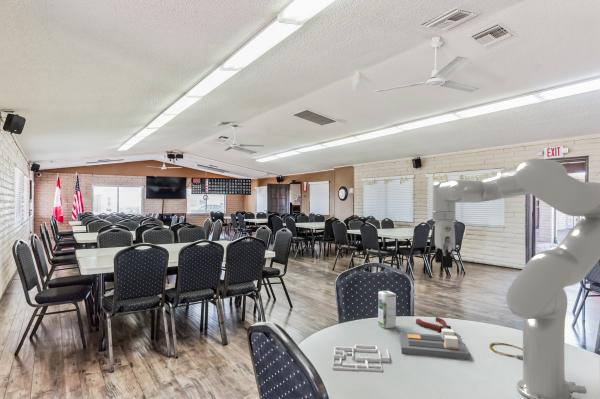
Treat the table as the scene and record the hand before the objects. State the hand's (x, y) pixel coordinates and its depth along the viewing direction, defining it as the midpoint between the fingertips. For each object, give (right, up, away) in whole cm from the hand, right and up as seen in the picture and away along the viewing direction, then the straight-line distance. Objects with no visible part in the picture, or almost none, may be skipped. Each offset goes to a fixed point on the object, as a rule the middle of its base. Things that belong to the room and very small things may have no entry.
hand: (443, 264), depth 127 cm
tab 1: (+4, -29, +7) cm, 30 cm away
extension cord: (+24, -32, 0) cm, 40 cm away
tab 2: (+3, -28, 0) cm, 29 cm away
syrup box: (-13, -32, +28) cm, 44 cm away
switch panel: (-2, -31, +5) cm, 31 cm away
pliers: (+6, -32, +24) cm, 40 cm away
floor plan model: (-30, -32, -2) cm, 43 cm away
